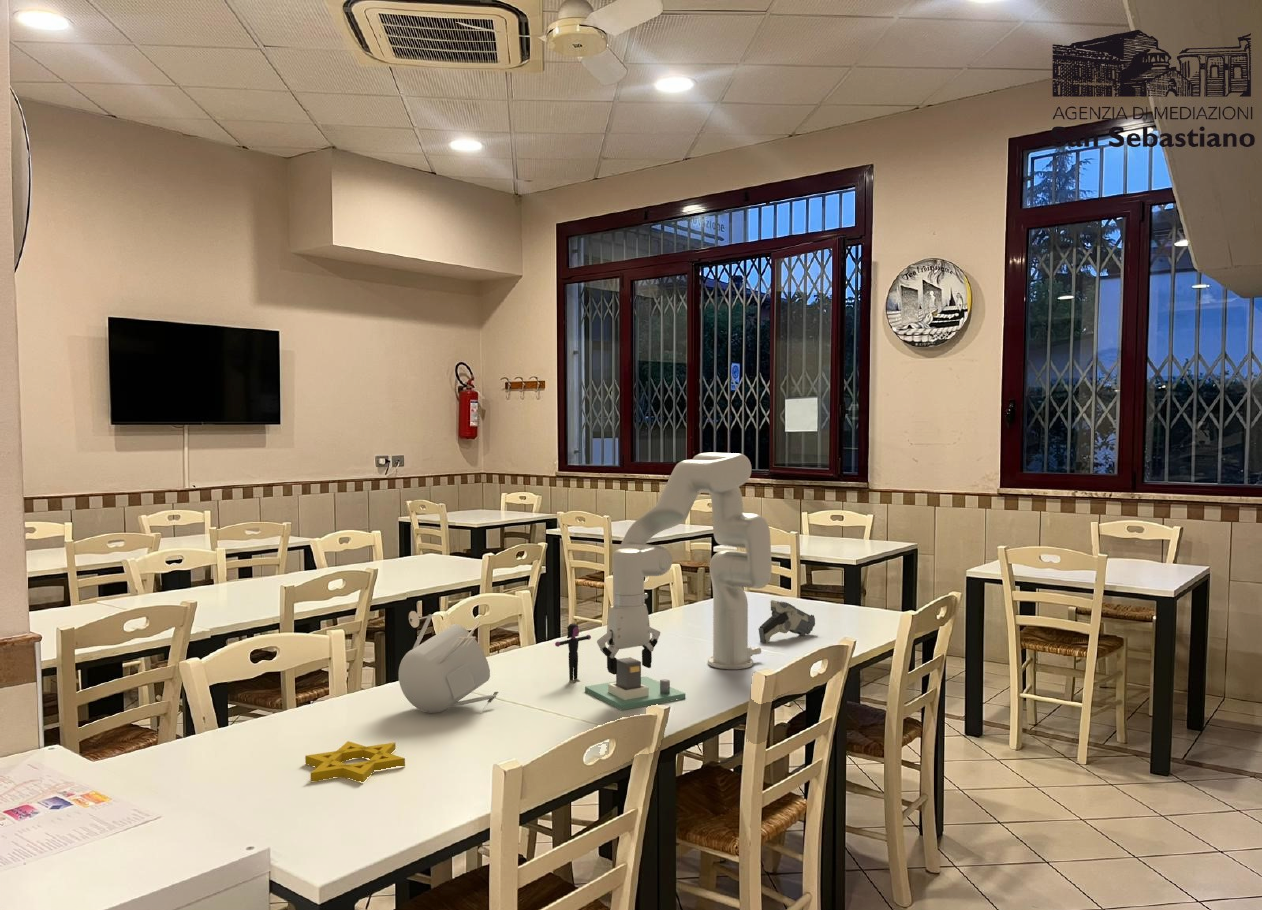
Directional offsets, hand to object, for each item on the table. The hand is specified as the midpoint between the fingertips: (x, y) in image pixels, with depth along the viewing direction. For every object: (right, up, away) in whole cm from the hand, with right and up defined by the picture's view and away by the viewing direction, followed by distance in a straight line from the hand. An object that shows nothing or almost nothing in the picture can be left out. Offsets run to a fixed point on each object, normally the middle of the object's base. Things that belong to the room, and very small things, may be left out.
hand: (629, 669), depth 220 cm
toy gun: (+49, -6, +64) cm, 81 cm away
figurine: (-15, -7, +16) cm, 23 cm away
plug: (0, -6, 0) cm, 6 cm away
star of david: (-53, -9, -44) cm, 70 cm away
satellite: (-43, -8, -8) cm, 44 cm away
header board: (+1, -7, +3) cm, 8 cm away
